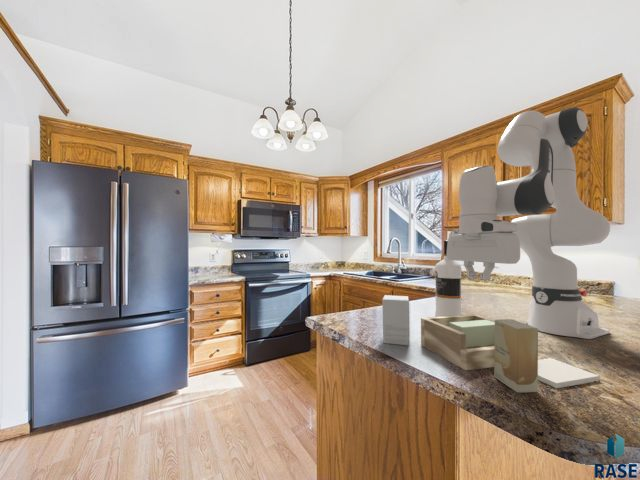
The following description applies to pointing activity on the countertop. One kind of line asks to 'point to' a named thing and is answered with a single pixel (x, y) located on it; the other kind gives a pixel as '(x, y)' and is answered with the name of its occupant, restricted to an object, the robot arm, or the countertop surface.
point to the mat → (563, 374)
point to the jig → (455, 342)
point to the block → (476, 332)
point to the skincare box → (516, 355)
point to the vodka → (448, 287)
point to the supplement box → (396, 320)
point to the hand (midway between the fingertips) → (478, 279)
